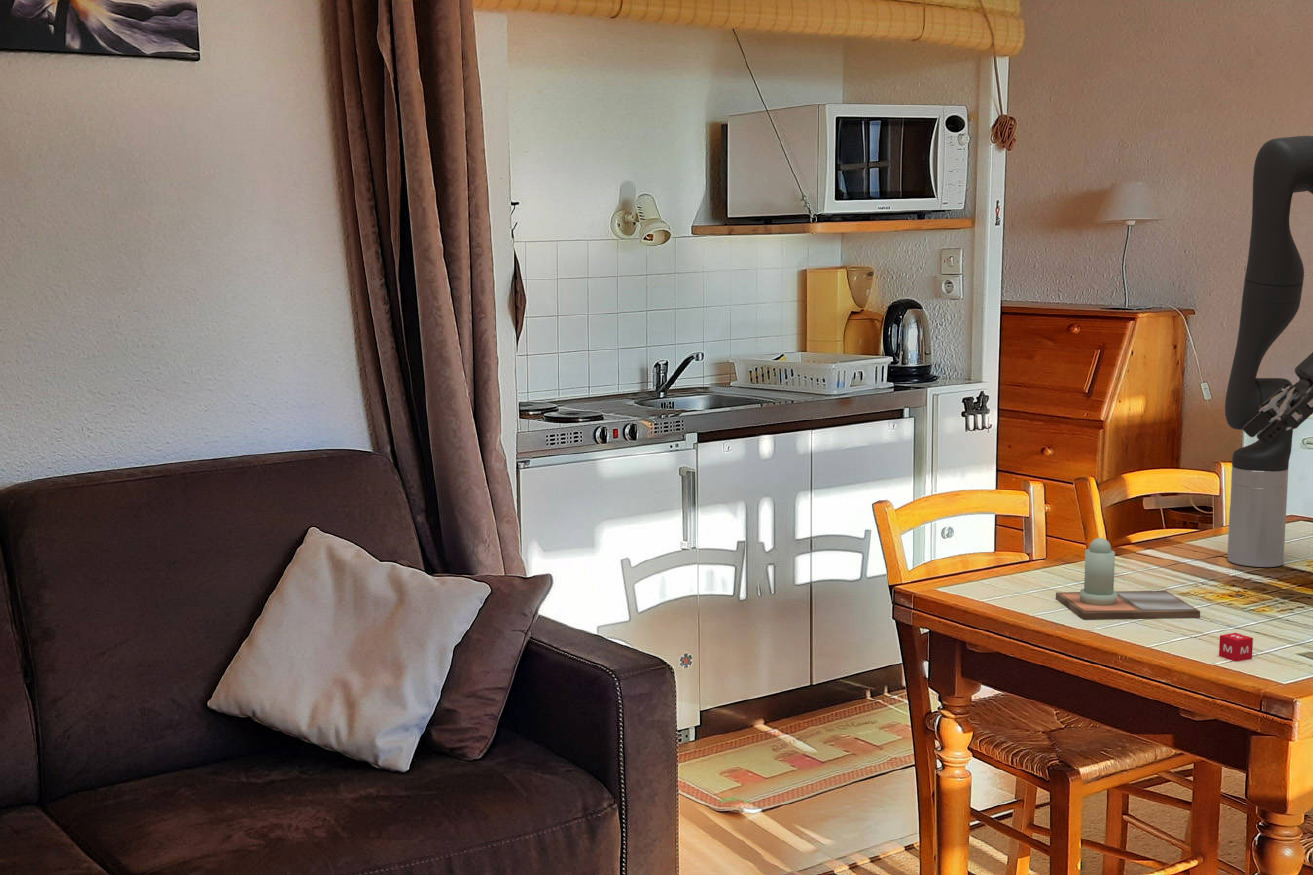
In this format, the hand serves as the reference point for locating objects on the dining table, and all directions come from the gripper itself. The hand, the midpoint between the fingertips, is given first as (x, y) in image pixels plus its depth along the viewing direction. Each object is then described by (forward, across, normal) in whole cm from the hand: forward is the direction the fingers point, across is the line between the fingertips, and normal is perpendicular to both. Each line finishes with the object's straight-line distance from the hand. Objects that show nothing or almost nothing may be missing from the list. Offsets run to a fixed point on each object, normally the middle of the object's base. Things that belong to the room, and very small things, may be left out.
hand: (1253, 437), depth 215 cm
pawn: (+35, +9, +1) cm, 36 cm away
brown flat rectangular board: (+32, +9, +4) cm, 34 cm away
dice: (+25, +34, +12) cm, 44 cm away
